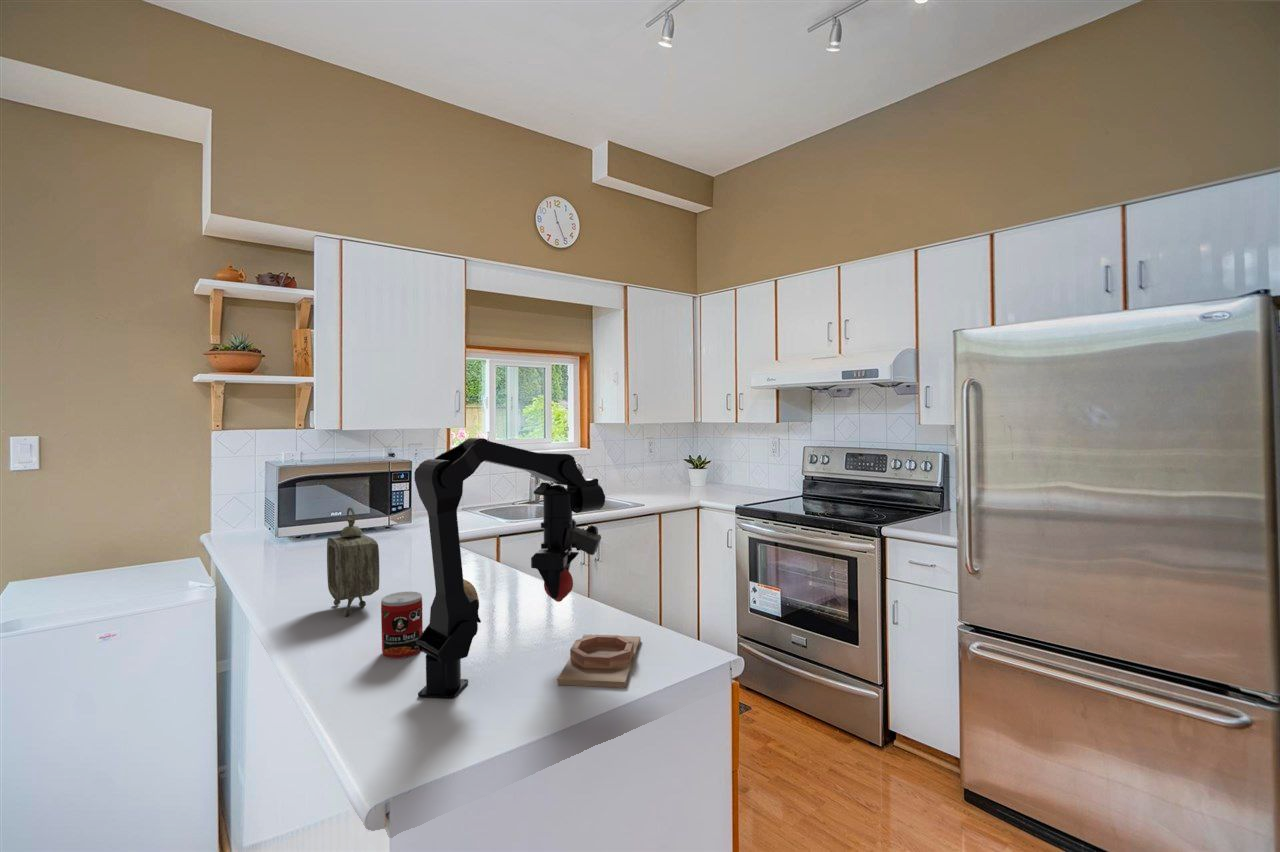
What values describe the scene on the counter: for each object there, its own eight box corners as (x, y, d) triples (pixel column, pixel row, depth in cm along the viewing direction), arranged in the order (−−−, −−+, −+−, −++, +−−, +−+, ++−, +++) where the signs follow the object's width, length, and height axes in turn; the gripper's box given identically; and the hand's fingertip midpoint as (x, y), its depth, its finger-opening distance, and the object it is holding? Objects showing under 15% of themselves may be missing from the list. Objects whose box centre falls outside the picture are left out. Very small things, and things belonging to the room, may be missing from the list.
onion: (568, 606, 120) (567, 566, 120) (539, 605, 121) (539, 565, 121) (576, 598, 126) (576, 559, 126) (549, 596, 127) (549, 558, 127)
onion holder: (625, 687, 106) (625, 670, 106) (557, 684, 108) (557, 667, 108) (640, 641, 128) (640, 627, 128) (583, 639, 130) (583, 625, 130)
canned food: (379, 661, 119) (378, 604, 119) (384, 646, 127) (383, 593, 127) (421, 656, 121) (420, 600, 121) (424, 642, 129) (423, 589, 129)
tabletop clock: (327, 605, 155) (326, 506, 155) (366, 598, 160) (364, 502, 160) (340, 620, 143) (338, 512, 143) (381, 612, 149) (379, 509, 149)
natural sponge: (437, 618, 144) (436, 575, 144) (476, 613, 147) (476, 572, 147) (439, 630, 136) (438, 585, 135) (480, 625, 139) (480, 581, 139)
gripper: (589, 524, 113) (589, 609, 113) (605, 509, 132) (605, 582, 132) (529, 524, 114) (530, 607, 115) (553, 508, 133) (554, 580, 133)
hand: (558, 593), depth 123 cm, fingers closed on onion, 6 cm apart
